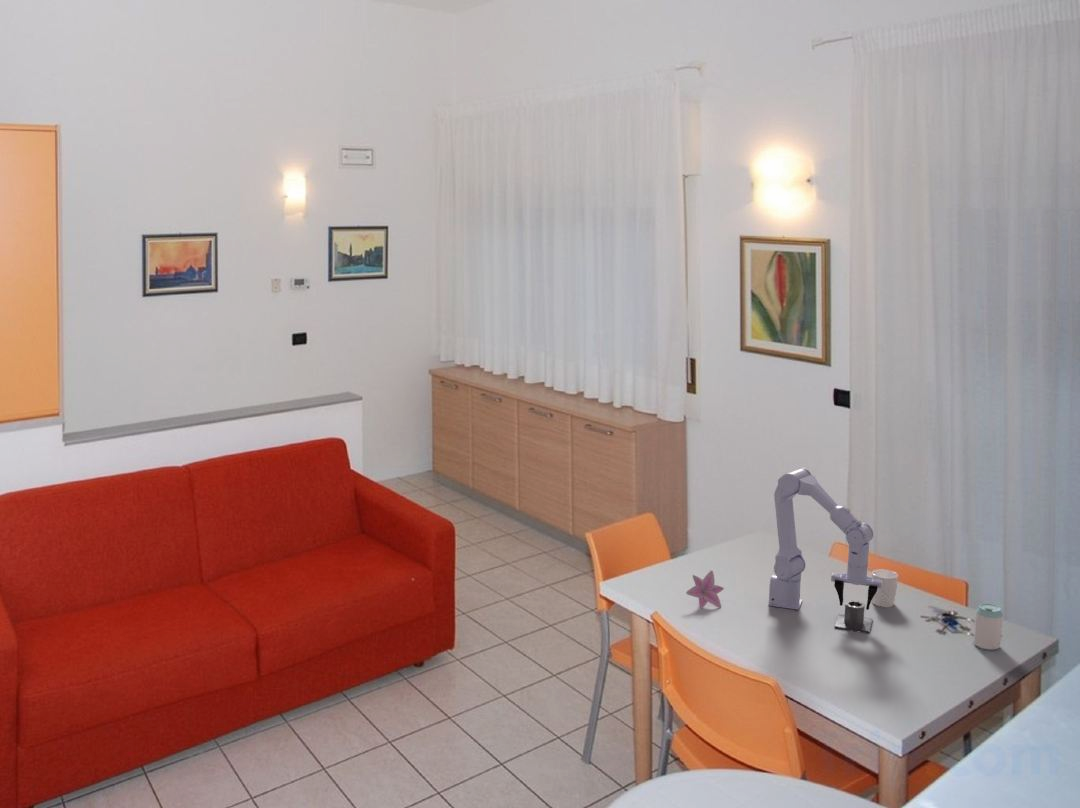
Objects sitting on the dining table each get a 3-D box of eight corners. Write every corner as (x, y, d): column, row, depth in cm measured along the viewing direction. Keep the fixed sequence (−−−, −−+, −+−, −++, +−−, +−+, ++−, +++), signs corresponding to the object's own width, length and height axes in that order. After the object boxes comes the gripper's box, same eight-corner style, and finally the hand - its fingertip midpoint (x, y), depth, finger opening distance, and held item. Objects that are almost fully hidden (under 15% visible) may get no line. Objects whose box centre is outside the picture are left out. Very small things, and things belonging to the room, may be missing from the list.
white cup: (897, 609, 317) (899, 579, 315) (871, 607, 319) (873, 577, 317) (894, 599, 325) (896, 570, 323) (868, 597, 326) (870, 568, 324)
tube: (843, 624, 304) (844, 606, 303) (845, 617, 309) (846, 599, 308) (862, 627, 302) (863, 608, 301) (863, 620, 307) (865, 602, 306)
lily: (679, 609, 320) (688, 590, 314) (684, 583, 329) (693, 563, 323) (715, 622, 319) (725, 603, 313) (719, 595, 328) (729, 576, 322)
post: (834, 628, 304) (835, 610, 302) (838, 615, 313) (839, 597, 311) (869, 633, 300) (870, 615, 299) (872, 620, 309) (873, 602, 308)
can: (1004, 651, 288) (1008, 611, 286) (980, 652, 288) (984, 612, 285) (991, 640, 295) (995, 601, 293) (968, 641, 295) (972, 602, 292)
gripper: (831, 565, 301) (828, 607, 304) (882, 572, 296) (878, 615, 299) (833, 557, 308) (831, 598, 311) (883, 564, 302) (880, 606, 305)
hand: (854, 606), depth 305 cm, fingers open, 7 cm apart
